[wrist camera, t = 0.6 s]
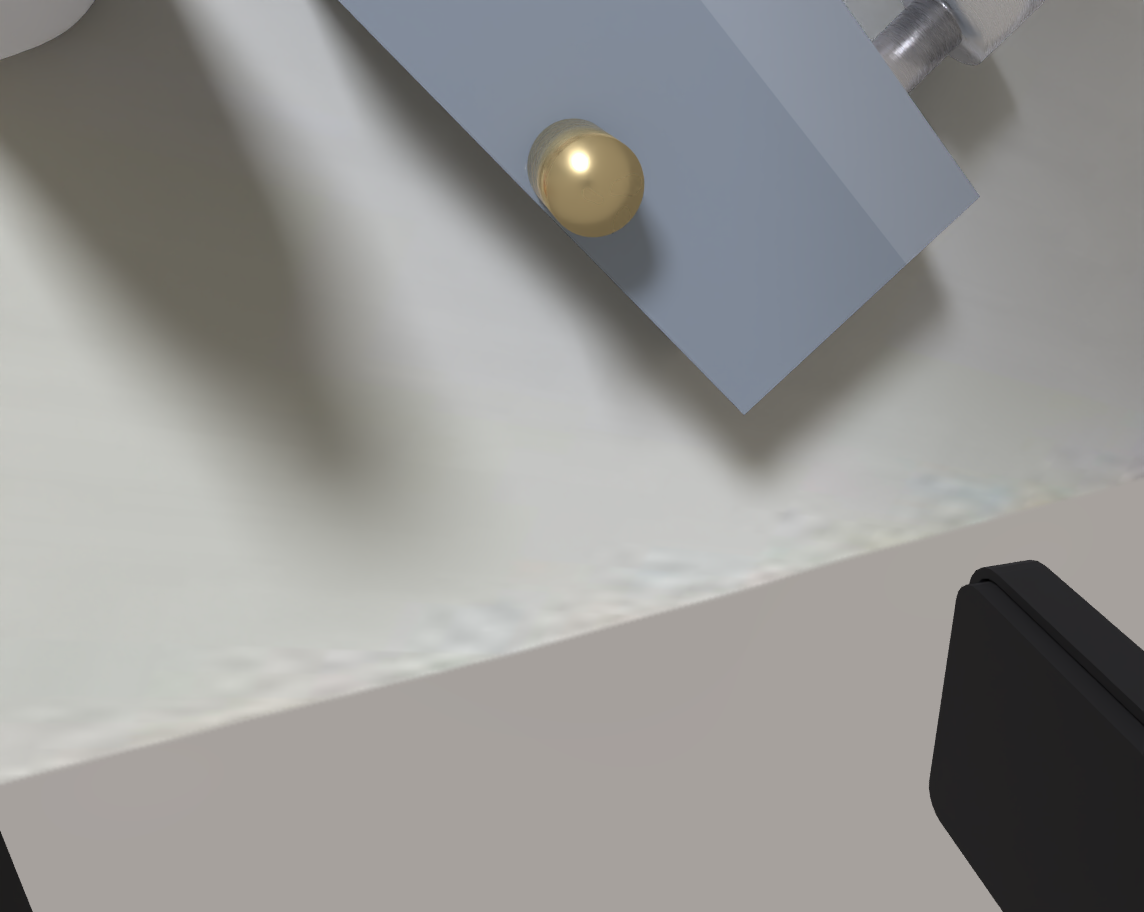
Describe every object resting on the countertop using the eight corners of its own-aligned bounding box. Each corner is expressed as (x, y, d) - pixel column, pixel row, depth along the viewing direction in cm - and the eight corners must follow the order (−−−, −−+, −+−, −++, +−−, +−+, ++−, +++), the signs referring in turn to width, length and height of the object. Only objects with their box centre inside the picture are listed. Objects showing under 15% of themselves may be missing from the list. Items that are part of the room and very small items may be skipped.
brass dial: (531, 114, 29) (552, 131, 26) (622, 122, 29) (651, 140, 27) (522, 208, 30) (541, 234, 27) (610, 214, 30) (636, 240, 28)
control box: (504, -351, 29) (546, -422, 24) (883, 158, 38) (980, 196, 33) (269, -79, 31) (255, -84, 25) (685, 347, 40) (743, 415, 34)
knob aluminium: (938, -90, 33) (1006, -93, 30) (996, 4, 35) (1066, 10, 32) (720, 128, 35) (762, 147, 32) (785, 206, 37) (831, 233, 33)
